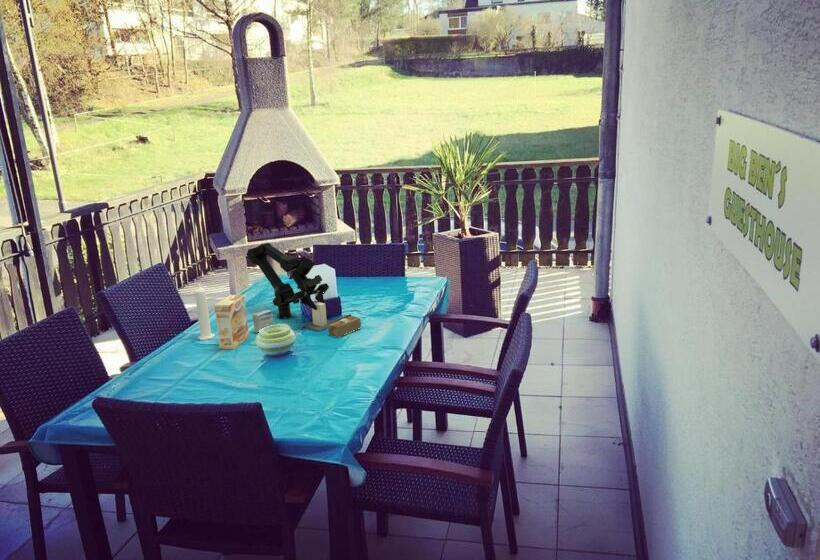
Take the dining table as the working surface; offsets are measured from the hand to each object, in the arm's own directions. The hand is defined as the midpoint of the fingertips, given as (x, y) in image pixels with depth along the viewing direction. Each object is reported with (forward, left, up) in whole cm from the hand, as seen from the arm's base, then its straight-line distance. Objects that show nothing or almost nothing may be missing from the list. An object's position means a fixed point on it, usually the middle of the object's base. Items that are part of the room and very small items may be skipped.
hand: (320, 308), depth 301 cm
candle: (-9, -50, -9) cm, 52 cm away
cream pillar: (-1, -1, -8) cm, 8 cm away
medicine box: (-6, -25, -9) cm, 27 cm away
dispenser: (+13, +7, -9) cm, 17 cm away
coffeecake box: (+4, -39, -9) cm, 40 cm away
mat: (-1, -1, -9) cm, 9 cm away
